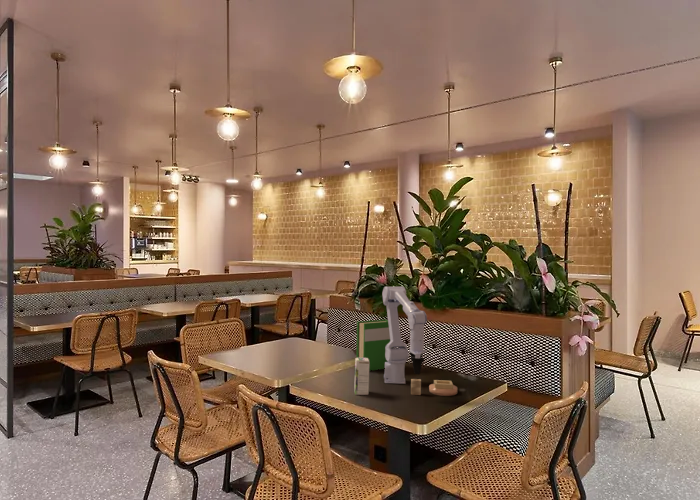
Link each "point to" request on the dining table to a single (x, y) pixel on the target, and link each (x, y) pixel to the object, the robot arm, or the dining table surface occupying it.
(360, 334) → the hardback book
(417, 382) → the tall wooden block
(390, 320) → the robot arm
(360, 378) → the syrup box
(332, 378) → the dining table surface
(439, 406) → the dining table surface
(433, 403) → the dining table surface
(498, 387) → the dining table surface
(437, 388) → the tan rounded piece
